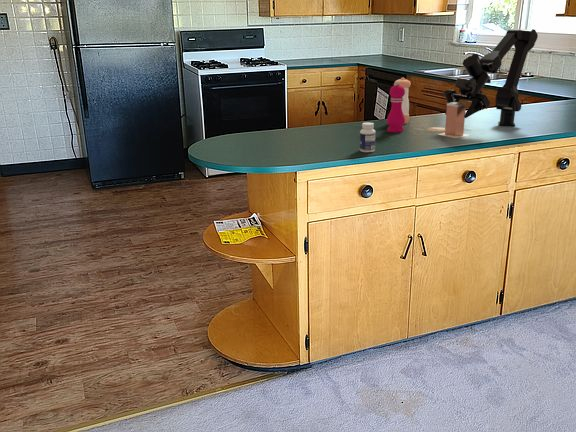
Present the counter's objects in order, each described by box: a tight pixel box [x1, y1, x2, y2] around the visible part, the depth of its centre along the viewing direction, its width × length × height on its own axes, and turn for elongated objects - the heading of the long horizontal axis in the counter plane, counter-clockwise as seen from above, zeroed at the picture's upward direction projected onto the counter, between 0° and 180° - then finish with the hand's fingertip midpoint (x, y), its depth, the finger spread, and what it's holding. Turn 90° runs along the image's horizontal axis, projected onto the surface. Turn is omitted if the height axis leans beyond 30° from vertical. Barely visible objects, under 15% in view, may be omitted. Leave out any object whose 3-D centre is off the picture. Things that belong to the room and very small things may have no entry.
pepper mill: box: [386, 81, 405, 133], centre depth 236 cm, size 7×7×20 cm
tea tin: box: [444, 101, 467, 136], centre depth 228 cm, size 5×5×12 cm
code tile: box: [437, 132, 469, 139], centre depth 230 cm, size 9×9×1 cm
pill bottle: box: [359, 121, 376, 153], centre depth 206 cm, size 5×5×10 cm
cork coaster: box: [426, 126, 445, 134], centre depth 239 cm, size 10×10×1 cm
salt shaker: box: [393, 77, 411, 125], centre depth 254 cm, size 7×7×19 cm
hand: (455, 115), depth 227 cm, fingers open, 9 cm apart
